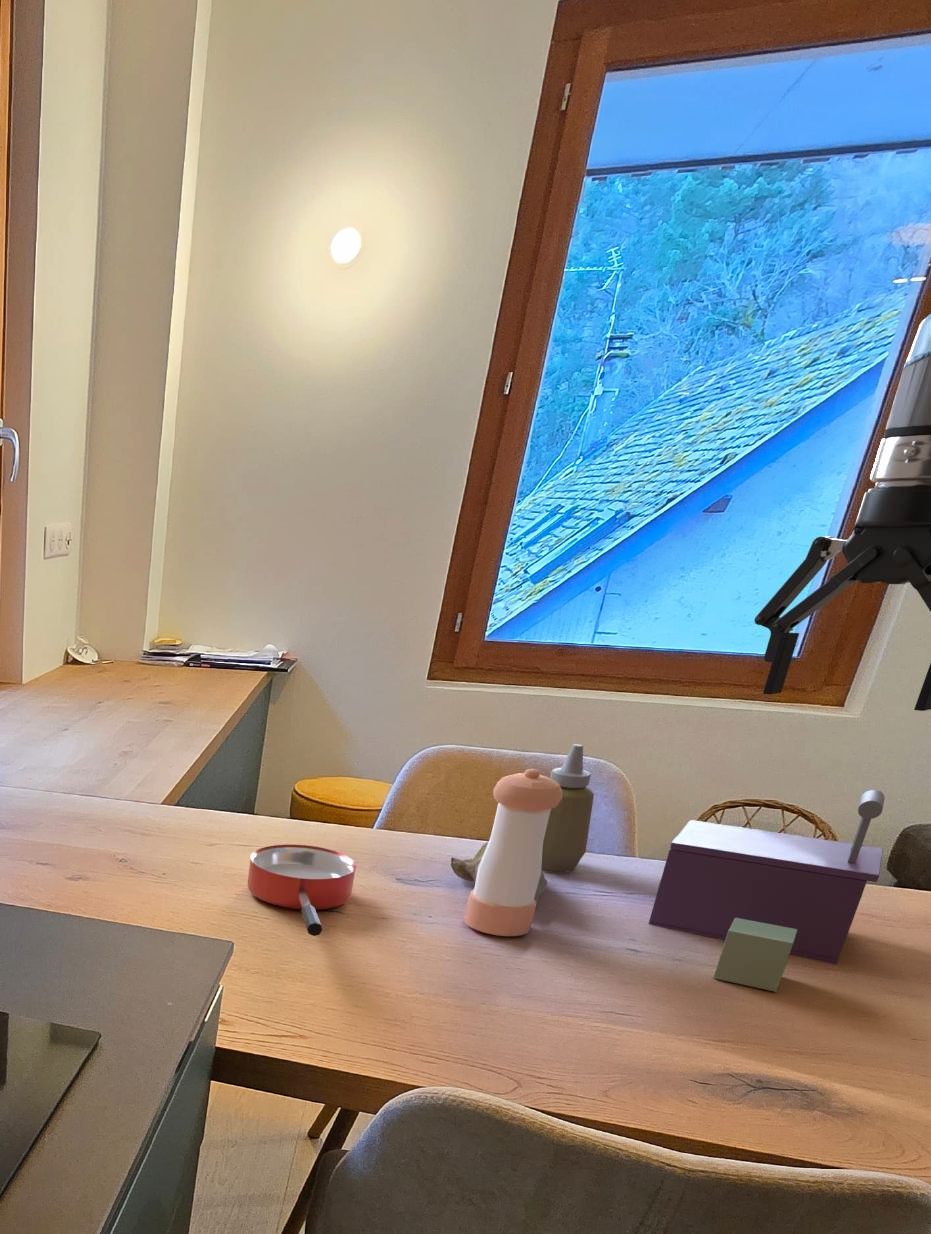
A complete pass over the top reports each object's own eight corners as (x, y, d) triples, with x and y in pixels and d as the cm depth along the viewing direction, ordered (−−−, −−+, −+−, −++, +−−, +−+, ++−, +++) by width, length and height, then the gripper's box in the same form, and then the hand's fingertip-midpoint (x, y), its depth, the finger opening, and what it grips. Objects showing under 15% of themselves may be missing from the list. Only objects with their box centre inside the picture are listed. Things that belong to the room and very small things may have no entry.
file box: (842, 934, 125) (872, 853, 121) (835, 967, 115) (866, 881, 112) (666, 901, 136) (688, 826, 132) (646, 929, 126) (669, 849, 122)
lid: (881, 854, 121) (905, 787, 118) (876, 882, 111) (903, 810, 108) (688, 826, 132) (706, 764, 129) (669, 849, 122) (688, 783, 119)
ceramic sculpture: (482, 846, 128) (454, 816, 142) (468, 912, 131) (442, 878, 145) (577, 851, 126) (539, 821, 139) (561, 919, 129) (525, 883, 143)
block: (781, 976, 113) (797, 929, 111) (776, 992, 109) (793, 943, 107) (720, 963, 116) (735, 917, 114) (713, 978, 112) (728, 930, 110)
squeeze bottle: (581, 868, 148) (614, 742, 140) (576, 886, 142) (611, 755, 134) (517, 858, 152) (547, 735, 144) (510, 875, 146) (540, 747, 138)
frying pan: (393, 981, 114) (404, 927, 111) (270, 974, 116) (277, 921, 113) (340, 876, 142) (348, 832, 139) (242, 872, 144) (247, 828, 141)
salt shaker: (505, 941, 123) (543, 781, 114) (450, 920, 128) (483, 767, 120) (543, 928, 126) (583, 772, 117) (488, 908, 131) (522, 758, 123)
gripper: (756, 488, 113) (700, 689, 121) (1074, 479, 93) (982, 720, 102) (787, 489, 116) (731, 685, 125) (1099, 481, 97) (1009, 714, 105)
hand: (844, 701), depth 113 cm, fingers open, 13 cm apart
